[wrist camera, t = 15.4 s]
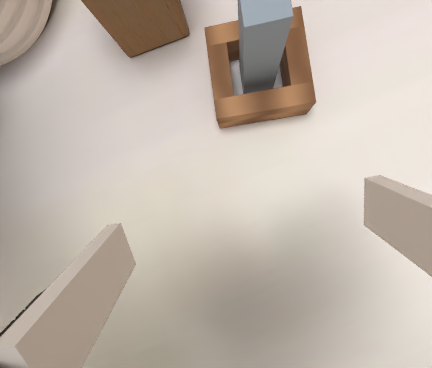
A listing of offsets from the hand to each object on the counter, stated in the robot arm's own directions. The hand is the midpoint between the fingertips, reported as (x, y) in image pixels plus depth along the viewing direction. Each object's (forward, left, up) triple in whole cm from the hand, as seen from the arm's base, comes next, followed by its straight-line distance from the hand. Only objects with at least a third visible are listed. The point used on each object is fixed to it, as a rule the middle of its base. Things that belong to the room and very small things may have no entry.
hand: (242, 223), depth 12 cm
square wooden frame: (-13, +12, -19) cm, 26 cm away
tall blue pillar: (-13, +12, -19) cm, 26 cm away
